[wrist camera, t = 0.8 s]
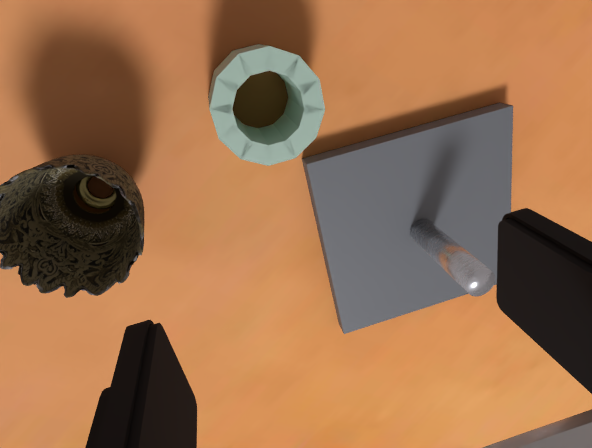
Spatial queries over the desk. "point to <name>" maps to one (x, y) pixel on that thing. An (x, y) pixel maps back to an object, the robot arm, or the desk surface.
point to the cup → (71, 225)
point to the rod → (453, 258)
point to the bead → (289, 127)
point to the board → (409, 210)
